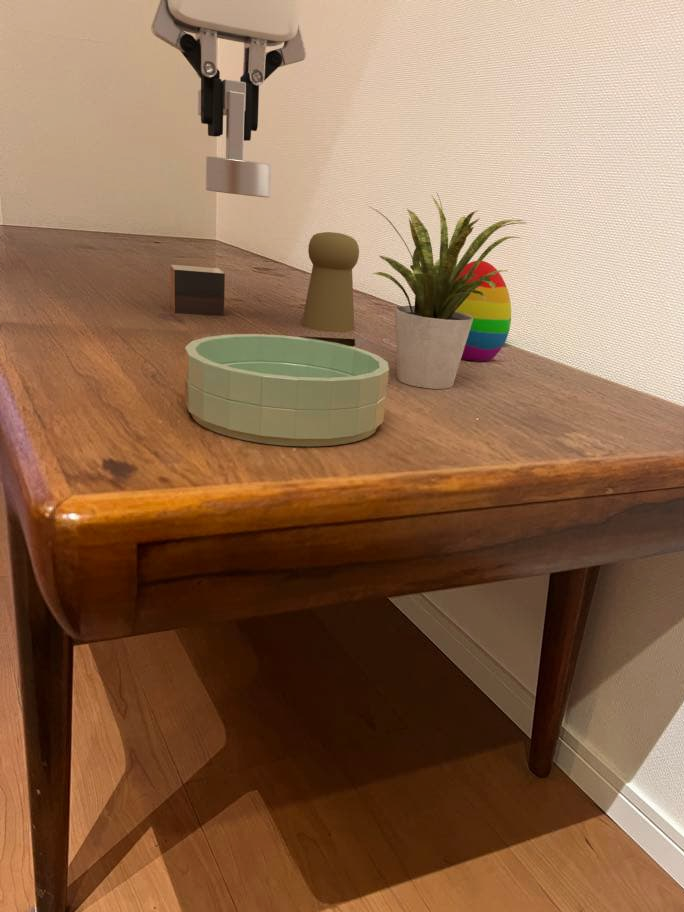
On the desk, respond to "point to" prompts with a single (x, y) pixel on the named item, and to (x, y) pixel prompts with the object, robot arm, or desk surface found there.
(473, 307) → the decorative egg
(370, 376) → the bowl
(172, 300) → the dark wooden cube
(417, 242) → the house plant
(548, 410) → the desk surface
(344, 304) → the cork
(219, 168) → the silver stamp handle
